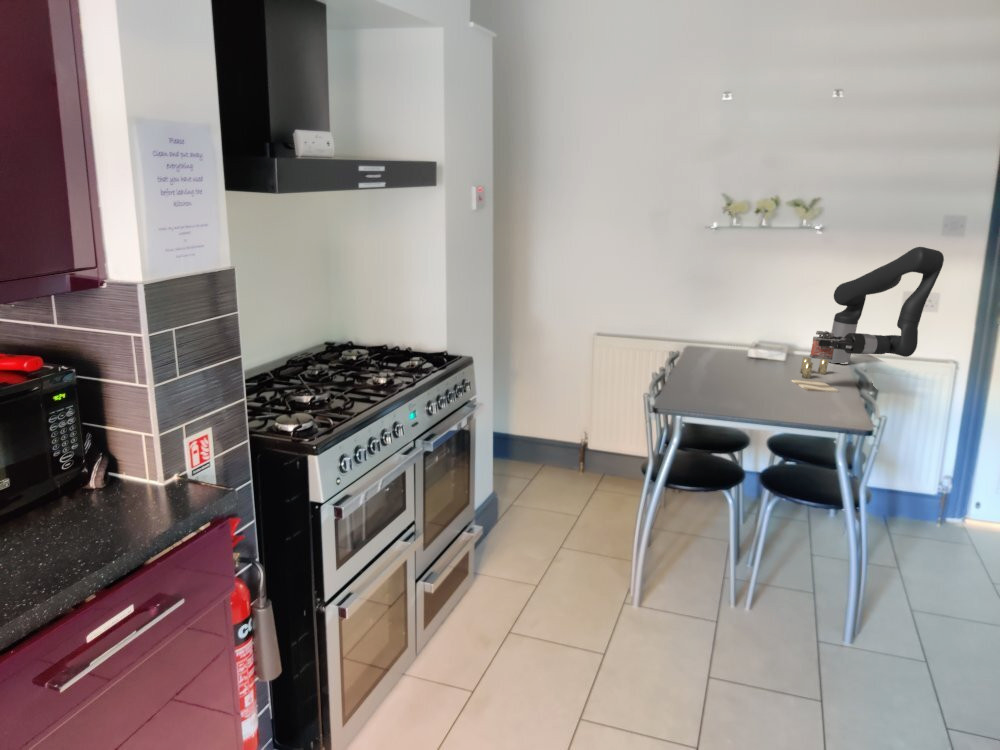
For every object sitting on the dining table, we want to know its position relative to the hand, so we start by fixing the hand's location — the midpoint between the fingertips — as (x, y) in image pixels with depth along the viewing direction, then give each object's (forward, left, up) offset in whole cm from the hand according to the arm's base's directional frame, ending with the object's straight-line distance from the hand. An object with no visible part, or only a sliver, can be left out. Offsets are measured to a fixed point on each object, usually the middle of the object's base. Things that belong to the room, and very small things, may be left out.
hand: (816, 341), depth 295 cm
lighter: (0, +3, -6) cm, 7 cm away
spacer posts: (-16, +11, -17) cm, 26 cm away
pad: (0, +3, -17) cm, 17 cm away
